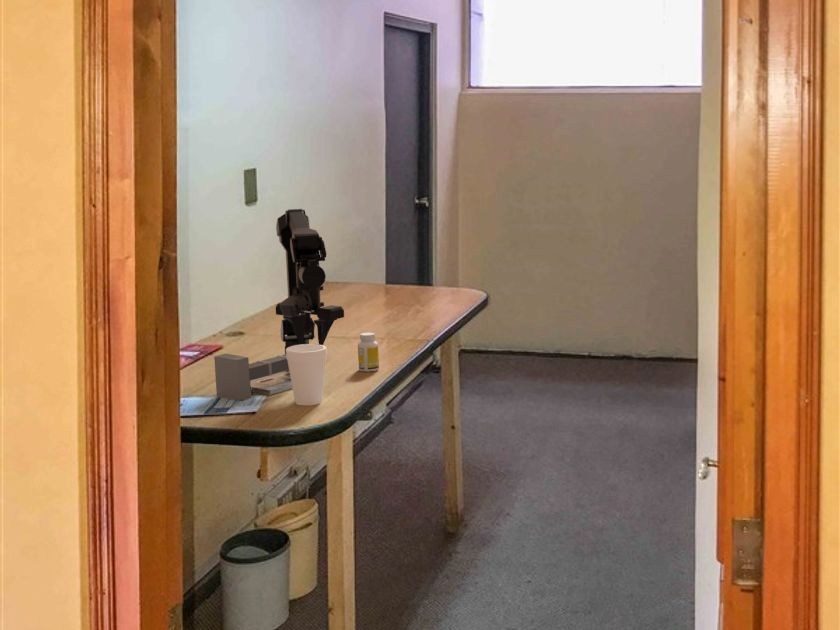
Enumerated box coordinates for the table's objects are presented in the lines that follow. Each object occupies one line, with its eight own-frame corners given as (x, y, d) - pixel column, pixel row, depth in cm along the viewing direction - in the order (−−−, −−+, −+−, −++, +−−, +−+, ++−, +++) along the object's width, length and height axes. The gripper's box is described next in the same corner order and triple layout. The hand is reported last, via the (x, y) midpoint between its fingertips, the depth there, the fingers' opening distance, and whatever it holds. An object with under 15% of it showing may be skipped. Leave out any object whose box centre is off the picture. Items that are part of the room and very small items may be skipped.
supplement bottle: (381, 368, 280) (380, 332, 278) (375, 372, 275) (374, 336, 273) (362, 367, 281) (361, 331, 279) (355, 371, 276) (354, 335, 274)
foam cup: (284, 399, 249) (281, 346, 247) (320, 395, 253) (318, 342, 250) (295, 409, 241) (293, 354, 238) (333, 404, 244) (331, 349, 242)
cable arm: (297, 374, 274) (296, 350, 273) (309, 376, 271) (308, 351, 270) (234, 393, 256) (232, 366, 255) (246, 395, 254) (244, 368, 252)
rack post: (227, 393, 257) (225, 353, 255) (250, 397, 252) (248, 357, 250) (216, 396, 254) (214, 356, 252) (239, 400, 249) (237, 360, 248)
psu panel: (285, 373, 276) (284, 368, 276) (321, 379, 268) (321, 373, 268) (233, 388, 262) (233, 382, 261) (270, 395, 254) (270, 389, 254)
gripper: (258, 284, 260) (261, 346, 263) (313, 290, 249) (316, 354, 252) (289, 279, 269) (292, 338, 271) (344, 283, 257) (346, 345, 260)
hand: (310, 344), depth 263 cm, fingers open, 7 cm apart
